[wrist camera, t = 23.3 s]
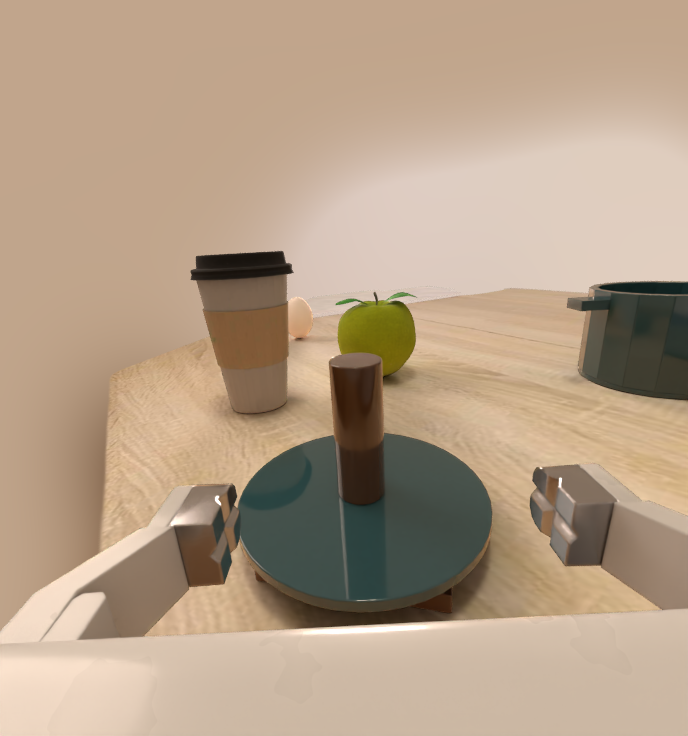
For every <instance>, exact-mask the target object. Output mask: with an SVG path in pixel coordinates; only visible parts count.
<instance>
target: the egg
mask: <svg viewBox="0 0 688 736" xmlns="http://www.w3.org/2000/svg"><path fill="white" fill-rule="evenodd" d="M312 326H313V314H312V311H311V309H310V307H309V305H308V304H307V302H306V301H305V300H304V299H302V298H300V297H294V298H292V299H291V300H290V301H289V302H288V330H289V333H290V334H291V335H292V336H294V337H296V338H302V337H305V336H306V335H307V334H308V333H309V332H310V330H311V328H312Z"/></svg>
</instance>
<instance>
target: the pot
mask: <svg viewBox="0 0 688 736" xmlns="http://www.w3.org/2000/svg"><path fill="white" fill-rule="evenodd" d="M567 308H571V309H575V310H579V311H586V314H585V321H584V328H583V334H582V341H581V348H580V354H579V361H578V366H579V369H578V370H579V373H580V374H581V375H582V376H583V377H584V378H586V379H588V380H590V381H592V382H594V383H597V384H599V385H602V386H605V387H608V388H612V389H615V390H619V391H623V392H628V393H633V394H638V395H644V396H651V397H659V398H670V399H688V282H680V281H673V282H672V281H670V282H669V281H640V282H617V283H605V284H597V285H594V286H591V287H590V288H589V294H588V297H578V298H568V303H567Z"/></svg>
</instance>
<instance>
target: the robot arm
mask: <svg viewBox="0 0 688 736" xmlns="http://www.w3.org/2000/svg"><path fill="white" fill-rule="evenodd" d="M532 481H533V482H534V484H535V485H536V486H537V488H536V489H535V491H534V492H533V493H532V494H531V497H530V509H531V514H532V518H533V520H534V522H535V524H536V526H537V527H538V529H539V530H540V532H542V533H544V534H545V535H547V536H549V537H551V540H550V546H551V547H552V549H553V550H554V551H555V553H556V554H557V556H558V557H559V558H560V560H561V561H562V563H563V564H564V565H565V566H601V568H603V569H604V570H606V571H607V572H609V573H610V574H611V575H613V576H614V577H616V578H617V579H619V580H620V581H622V582H623V583H624V584H626V585H627V586H629V587H630V588H632V589H633V590H635V591H636V592H637V593H639V594H640V595H642V596H643V597H645V598H646V599H647V600H649V601H650V602H652V603H653V604H655V605H656V606H658V607H659V608H660V609H662V610H650V611H633V612H614V613H594V614H574V615H553V616H533V617H513V618H493V619H473V620H454V621H435V622H416V623H397V624H378V625H359V626H340V627H320V628H301V629H282V630H262V631H243V632H224V633H204V634H185V635H165V636H146V637H143V636H144V635H145V634H146V633H147V632H148V631H149V630H150V629H151V628H152V627H153V626H154V625H155V624H156V623H157V622H158V621H159V620H160V619H161V618H162V617H163V616H164V615H165V614H166V613H167V611H168V610H169V609H170V608H171V607H172V606H173V605H174V604H175V603H176V602H177V601H178V600H179V599H180V598H181V597H182V596H183V595H184V594H185V593H186V592H187V591H188V590H189V587H197V586H209V585H221V584H224V583H225V580H226V577H227V574H228V571H229V569H230V566H231V563H232V560H231V554H230V553H231V552H232V551H233V550H235V549H236V548H237V545H238V542H239V539H240V532H241V516H240V511H239V510H238V509H237V508H236V507H235V506H234V503H235V501H236V498H237V494H236V489H235V486H234V485H233V484H205V485H182V486H177V487H174V488H173V490H172V491H171V493H170V494H169V495H168V497H167V498H166V500H165V501H164V503H163V504H162V505H161V507H160V508H159V510H158V511H157V513H156V514H155V515H154V517H153V518H152V520H151V521H150V523H149V524H148V525H147V527H146V528H139V529H138V530H136V531H134V532H133V533H131V534H130V535H128V536H126V537H125V538H123V539H122V540H120V541H118V542H117V543H115V544H113V545H112V546H110V547H109V548H107V549H105V550H104V551H102V552H101V553H99V554H97V555H96V556H94V557H92V558H91V559H89V560H88V561H86V562H84V563H83V564H81V565H79V566H78V567H76V568H75V569H73V570H71V571H70V572H68V573H67V574H65V575H63V576H62V577H60V578H58V579H57V580H55V581H54V582H52V583H50V584H49V585H47V586H46V587H44V588H42V589H41V590H39V591H37V592H36V593H34V594H33V595H32V596H31V597H30V598H29V600H28V601H27V602H26V603H25V604H24V605H23V606H22V607H21V609H20V610H19V611H18V612H17V613H16V614H15V615H14V616H13V618H12V619H11V620H10V621H9V622H8V623H7V624H6V626H5V627H4V628H3V629H2V630H1V631H0V736H688V516H687V515H684V514H681V513H679V512H676V511H674V510H671V509H669V508H666V507H664V506H661V505H659V504H656V503H654V502H651V501H642V500H641V499H640V498H639V497H637V496H636V495H635V494H634V493H633V492H631V491H630V490H629V489H628V488H627V487H625V486H624V485H623V484H622V483H621V482H619V481H618V480H617V479H616V478H615V477H613V476H612V475H611V474H610V473H609V472H607V471H606V470H605V469H604V468H603V467H601V466H600V465H598V464H595V463H584V464H574V465H564V466H550V467H536V469H535V471H534V473H533V480H532Z"/></svg>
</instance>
